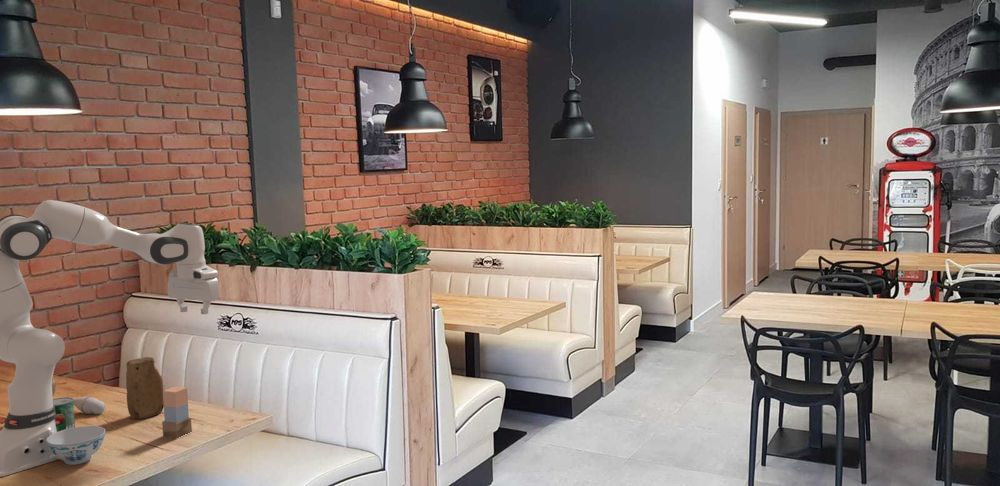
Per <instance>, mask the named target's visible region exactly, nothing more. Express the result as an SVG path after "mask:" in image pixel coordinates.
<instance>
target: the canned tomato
mask: <svg viewBox="0 0 1000 486" xmlns="http://www.w3.org/2000/svg"><path fill="white" fill-rule="evenodd" d="M53 405H54V406H55V412H56V421H55V425H56V430H57V432H59V431H62V430H65V429H69V428H74V427H76V421H75V406H74V404H73V398H72V397H65V396H64V397H63V396H62V397H57V398H53Z"/></svg>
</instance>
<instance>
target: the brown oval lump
mask: <svg viewBox="0 0 1000 486" xmlns="http://www.w3.org/2000/svg"><path fill="white" fill-rule="evenodd" d="M125 366H126V373H125V374H126V375H125V377H126V380H125V381H126V385H125V386H126V405H127V412H128V414H129V415H130V417H131V418H132V419H134V420H142V419H144V420H145V419H147V418H148V419H149V418H152V417H155V416H157V415H160V414H161V413H162V412H163V411H164V401H163V391H164V381H163V377H162V375H161V374H160V372H159V370H158V368H156V366H155V359H154V358H153V357H150V356H144V357H141V358H140V357H139V358H136V359H135V358H134V359H131V360H128V361H126V365H125Z"/></svg>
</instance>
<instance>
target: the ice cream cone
mask: <svg viewBox="0 0 1000 486" xmlns="http://www.w3.org/2000/svg"><path fill="white" fill-rule="evenodd" d="M73 404H74V408H77V410H79V411H80V412H81V413H82V414H88V415H91V414H94V415H99V414H103V412H104V411H105V410H106V404H105V403H104V402H103V401H101V400H99V399H98V398H97V397H93V396H92V395H88V396H80V397H74V398H73Z"/></svg>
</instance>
